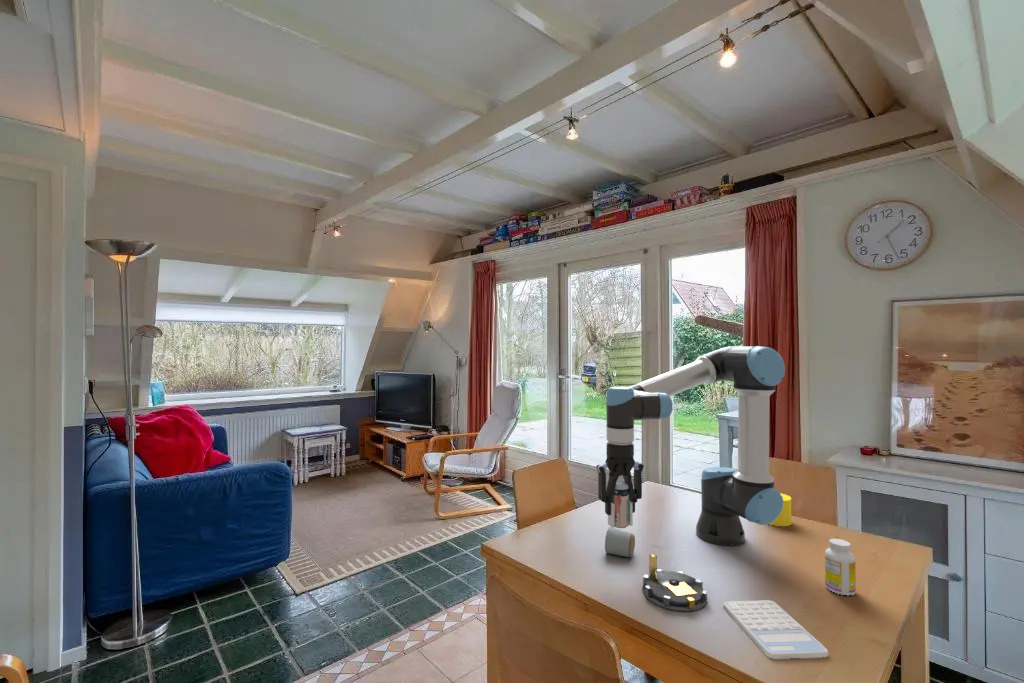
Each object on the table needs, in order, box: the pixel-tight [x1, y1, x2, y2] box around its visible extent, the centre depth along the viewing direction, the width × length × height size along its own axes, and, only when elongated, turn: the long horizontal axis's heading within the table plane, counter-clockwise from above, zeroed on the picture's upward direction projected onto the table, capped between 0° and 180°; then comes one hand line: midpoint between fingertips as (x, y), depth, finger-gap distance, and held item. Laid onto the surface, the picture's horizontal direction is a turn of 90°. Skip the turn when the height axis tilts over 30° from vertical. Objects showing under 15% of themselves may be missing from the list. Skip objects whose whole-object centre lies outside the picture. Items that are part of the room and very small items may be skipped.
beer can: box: [612, 480, 630, 529], centre depth 131 cm, size 5×5×12 cm
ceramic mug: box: [604, 526, 636, 558], centre depth 146 cm, size 11×8×8 cm
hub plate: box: [642, 584, 708, 613], centre depth 122 cm, size 16×16×1 cm
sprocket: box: [642, 553, 708, 609], centre depth 122 cm, size 16×16×8 cm
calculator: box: [722, 599, 830, 660], centre depth 107 cm, size 13×20×2 cm, turn 3°
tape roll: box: [769, 492, 792, 527], centre depth 171 cm, size 10×10×9 cm
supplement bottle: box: [824, 538, 857, 597], centre depth 124 cm, size 7×7×13 cm
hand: (620, 524), depth 131 cm, fingers closed on beer can, 5 cm apart
